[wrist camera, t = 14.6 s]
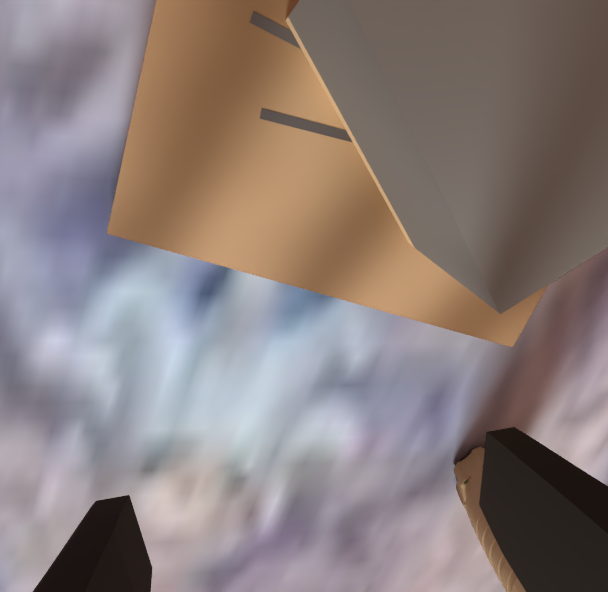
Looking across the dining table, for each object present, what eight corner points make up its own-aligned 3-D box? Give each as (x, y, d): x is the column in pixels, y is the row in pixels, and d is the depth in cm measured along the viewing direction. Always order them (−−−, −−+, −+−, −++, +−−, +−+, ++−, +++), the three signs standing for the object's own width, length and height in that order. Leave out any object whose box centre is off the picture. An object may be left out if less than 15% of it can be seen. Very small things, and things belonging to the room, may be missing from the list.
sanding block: (285, 20, 13) (327, -40, 7) (423, -80, 13) (575, -221, 7) (408, 242, 16) (500, 314, 11) (521, 169, 16) (677, 204, 10)
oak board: (115, 224, 16) (106, 233, 14) (209, -212, 12) (208, -245, 11) (497, 333, 20) (513, 347, 19) (657, 40, 16) (690, 35, 15)
